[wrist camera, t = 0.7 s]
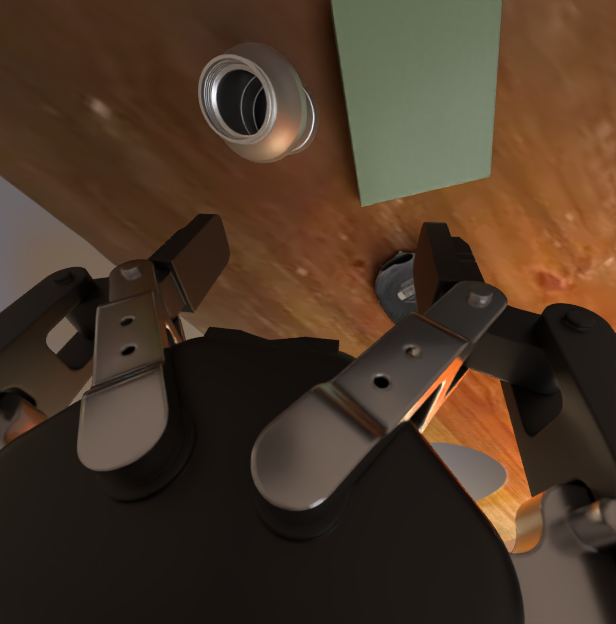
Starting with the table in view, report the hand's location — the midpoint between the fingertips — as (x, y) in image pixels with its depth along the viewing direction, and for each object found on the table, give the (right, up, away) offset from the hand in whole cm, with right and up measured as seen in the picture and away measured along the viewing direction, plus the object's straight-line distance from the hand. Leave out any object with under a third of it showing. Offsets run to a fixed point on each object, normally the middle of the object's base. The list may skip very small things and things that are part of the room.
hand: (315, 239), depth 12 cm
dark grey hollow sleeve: (+15, -1, +30) cm, 34 cm away
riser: (+10, +19, +18) cm, 28 cm away
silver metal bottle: (-2, +18, +20) cm, 27 cm away
